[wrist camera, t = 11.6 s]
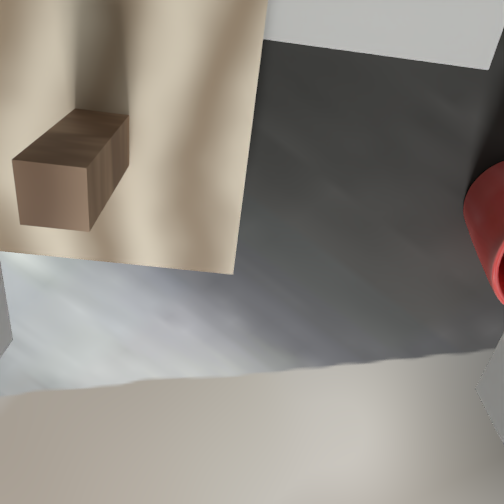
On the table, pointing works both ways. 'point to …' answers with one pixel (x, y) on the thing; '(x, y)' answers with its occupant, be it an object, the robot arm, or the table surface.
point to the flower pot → (488, 224)
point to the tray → (393, 27)
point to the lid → (127, 128)
